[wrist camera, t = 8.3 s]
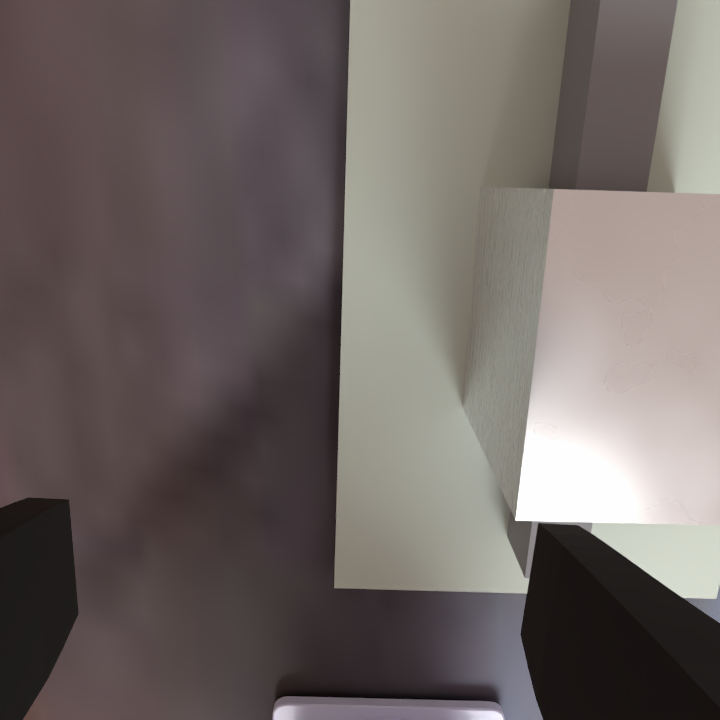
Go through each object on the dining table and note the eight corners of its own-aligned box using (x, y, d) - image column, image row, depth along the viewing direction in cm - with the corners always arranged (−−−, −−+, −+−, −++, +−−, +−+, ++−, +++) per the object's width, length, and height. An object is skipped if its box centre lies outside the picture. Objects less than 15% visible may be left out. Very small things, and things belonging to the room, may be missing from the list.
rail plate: (699, 578, 20) (756, 645, 17) (335, 568, 20) (331, 634, 17) (862, -146, 14) (989, -229, 11) (355, -169, 14) (355, -259, 11)
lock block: (637, 412, 17) (778, 527, 11) (462, 407, 17) (515, 520, 11) (674, 193, 15) (863, 198, 10) (480, 187, 15) (554, 188, 10)
